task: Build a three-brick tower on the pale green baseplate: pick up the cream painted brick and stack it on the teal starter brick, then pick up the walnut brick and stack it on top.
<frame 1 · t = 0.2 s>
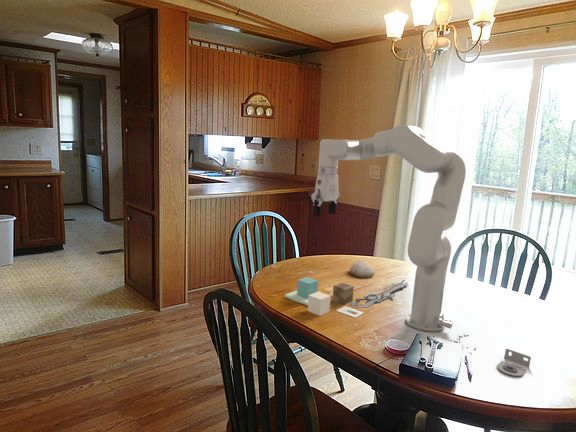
hand: (324, 214, 168), 31 cm above the table, fingers open, 9 cm apart
baseplate: (306, 297, 163), on the table
walnut brick: (342, 301, 162), on the table
stone: (361, 274, 196), on the table
instruction card: (350, 312, 151), on the table
bracket: (513, 369, 119), on the table
gun: (384, 296, 170), on the table
teal brick: (307, 295, 163), point 1 cm above the table, touching baseplate
cream brick: (318, 311, 151), on the table
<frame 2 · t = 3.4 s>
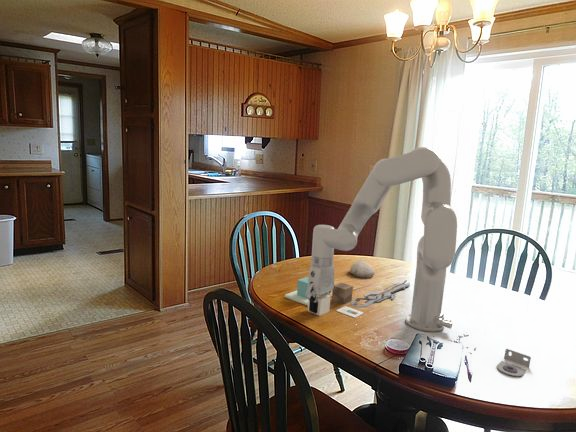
hand: (318, 309, 150), 1 cm above the table, fingers closed on cream brick, 5 cm apart
cream brick: (318, 311, 151), on the table, touching gripper
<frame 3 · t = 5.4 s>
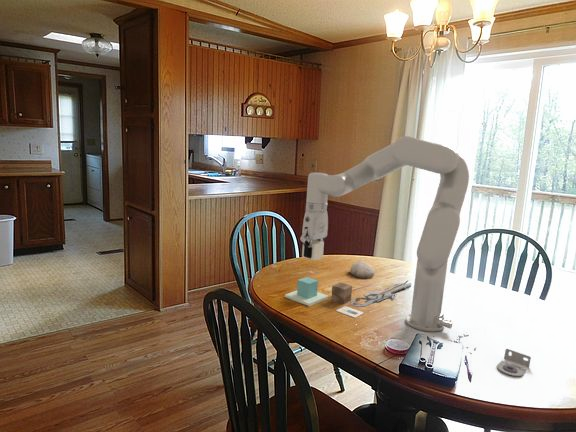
hand: (312, 255, 156), 18 cm above the table, fingers closed on cream brick, 5 cm apart
cream brick: (312, 257, 156), point 17 cm above the table, touching gripper
everything else where it was.
when the fingers open (9 cm above the table, at t = 7.7 s): cream brick stays where it is, resting on teal brick.
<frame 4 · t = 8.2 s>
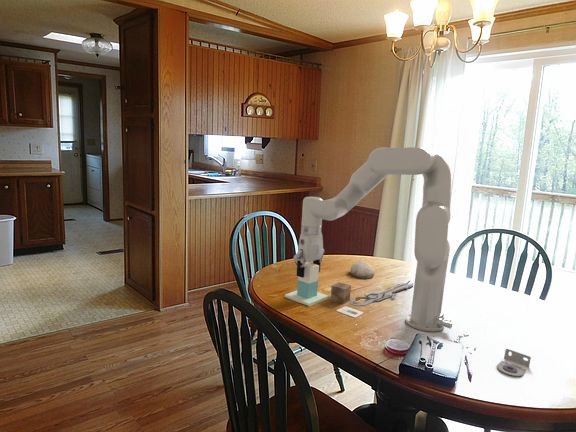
hand: (308, 273, 161), 9 cm above the table, fingers open, 9 cm apart
teal brick: (307, 295, 163), point 1 cm above the table, touching baseplate, cream brick
cream brick: (308, 280, 162), point 7 cm above the table, touching teal brick
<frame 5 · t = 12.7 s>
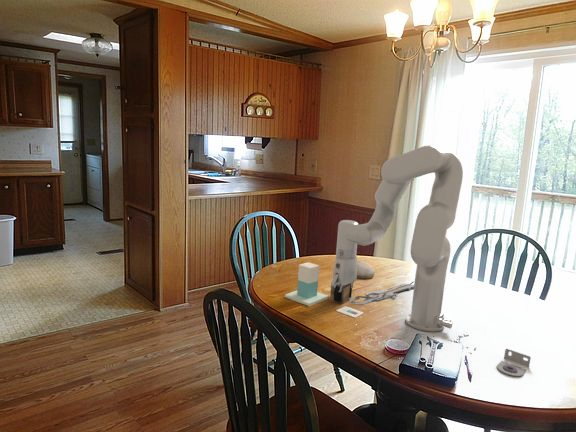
hand: (342, 298, 162), 1 cm above the table, fingers closed on walnut brick, 5 cm apart
walnut brick: (339, 300, 162), on the table, touching gripper
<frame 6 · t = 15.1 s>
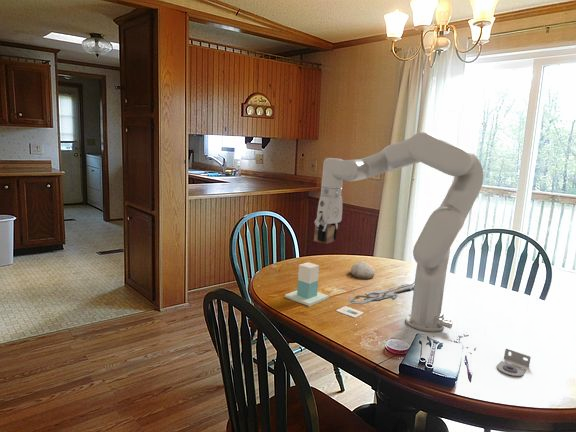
hand: (326, 239, 158), 23 cm above the table, fingers closed on walnut brick, 5 cm apart
walnut brick: (323, 241, 159), point 23 cm above the table, touching gripper
when the fingers open (15 cm above the table, at t = 17.4 s): walnut brick stays where it is, resting on cream brick.
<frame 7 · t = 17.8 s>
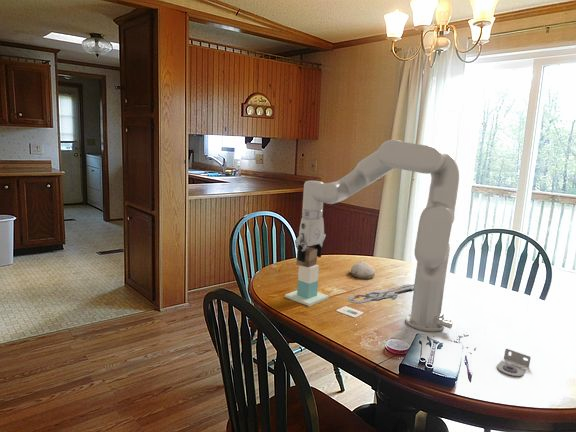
hand: (309, 258, 160), 15 cm above the table, fingers open, 9 cm apart
walnut brick: (306, 264, 161), point 13 cm above the table, touching cream brick
cream brick: (308, 280, 162), point 7 cm above the table, touching teal brick, walnut brick
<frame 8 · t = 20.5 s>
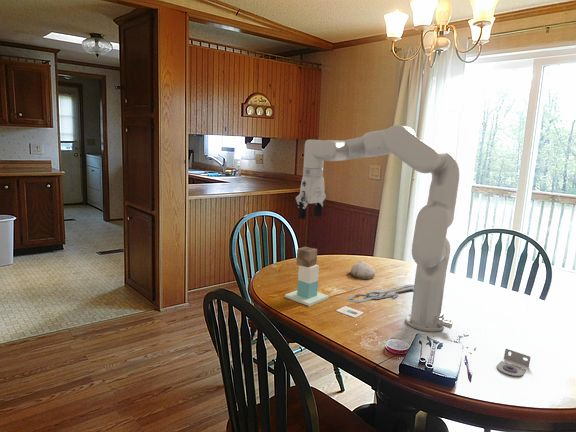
hand: (310, 217, 163), 30 cm above the table, fingers open, 9 cm apart
at the end: cream brick 0.0 cm off-centre on the teal brick, point 6.0 cm above the teal brick's base; walnut brick 1.2 cm off-centre on the teal brick, point 12.0 cm above the teal brick's base; walnut brick tilted 0° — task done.
